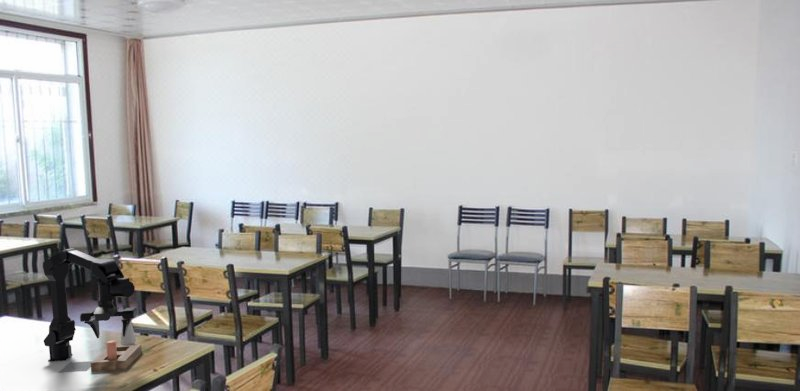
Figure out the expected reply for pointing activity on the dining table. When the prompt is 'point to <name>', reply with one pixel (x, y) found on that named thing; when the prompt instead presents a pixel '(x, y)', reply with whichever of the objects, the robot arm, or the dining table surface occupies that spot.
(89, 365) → the mat
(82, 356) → the dining table surface
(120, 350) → the socket block
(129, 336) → the salt shaker
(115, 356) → the peg
